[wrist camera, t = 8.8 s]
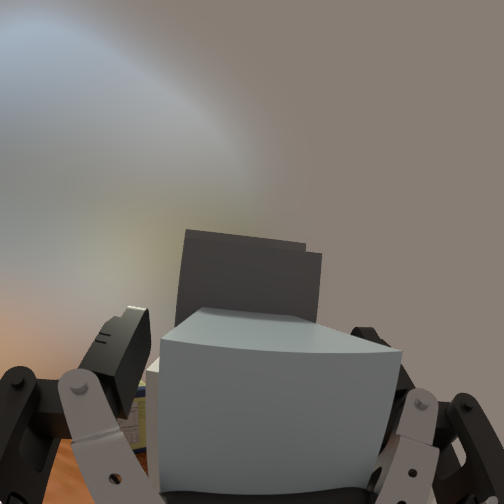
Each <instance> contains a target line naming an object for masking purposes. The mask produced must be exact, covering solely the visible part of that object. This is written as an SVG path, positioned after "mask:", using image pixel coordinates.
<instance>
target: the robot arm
mask: <svg viewBox="0 0 504 504" xmlns="http://www.w3.org/2000/svg"><path fill="white" fill-rule="evenodd" d="M351 335H352V336H355V337H358V338H362V339H365V340H368V341H371V342H374V343H377V344H381V345H384V346H387V347H391V346H390V345H388V344H387V343H386V342H385V341H384V340H383V339H380V338H379V336H378V334H377V333H376V331H375V330H374V328H372V327H355V328H354V329H353V330H352V332H351ZM150 350H151V333H150V320H149V311H148V309H146V308H139V307H134V306H128V307H127V309H126V310H125V312H124V314H123V315H122V317H115V316H114V317H113V318H111V319H110V320H109V321H107V322H106V323H105V324H104V325H103V327H102V329H101V330H100V332H99V334H98V335H97V337H96V338H95V341H94V342H93V343H92V345H91V347H90V348H89V350H88V352H87V353H86V355H85V357H84V358H83V360H82V362H81V364H80V365H79V367H78V368H77V369H73V370H70V371H68V372H66V373H65V374H64V375H63V376H62V377H61V378H60V379H59V380H47V379H37V378H36V377H35V374H34V373H33V371H32V370H31V369H29V368H27V367H24V366H17V367H13V368H11V369H9V370H8V371H6V372H5V374H4V375H3V377H2V378H1V380H0V504H42V502H43V498H44V494H45V490H46V486H47V483H48V479H49V476H50V472H51V469H52V465H53V462H54V459H55V456H56V453H57V450H58V447H59V444H60V441H61V439H72V440H73V442H71V446H72V450H73V453H74V456H75V459H76V461H77V464H78V466H79V469H80V471H81V474H82V476H83V478H84V481H85V483H86V485H87V487H88V489H89V492H90V494H91V496H92V498H93V500H94V502H95V504H427V500H428V497H429V494H430V490H431V486H432V489H433V492H434V495H435V498H436V502H437V504H504V449H503V447H502V445H501V443H500V441H499V439H498V437H497V435H496V433H495V431H494V430H493V428H492V426H491V424H490V422H489V420H488V419H487V417H486V415H485V413H484V412H483V410H482V408H481V407H480V405H479V403H478V402H477V400H476V399H475V398H474V397H473V396H471V395H469V394H467V393H459V394H457V395H456V396H455V398H454V399H453V400H452V401H451V403H450V402H439V401H437V399H436V398H435V397H434V395H433V394H432V393H430V392H429V391H427V390H424V389H420V388H415V386H414V384H413V383H412V381H411V379H410V378H409V376H408V374H407V372H406V371H405V369H404V367H403V366H402V364H400V370H399V376H398V381H397V386H396V390H395V395H394V400H393V404H392V408H391V412H390V416H389V420H388V424H387V427H386V431H385V434H384V438H383V441H382V444H381V448H380V451H379V454H378V457H377V460H376V463H375V466H374V469H373V471H372V474H371V477H370V479H369V482H368V485H367V487H366V489H364V488H360V487H343V488H336V489H329V490H322V491H314V492H305V493H293V494H276V495H236V494H218V493H207V492H196V491H168V492H162V493H160V492H159V493H158V492H157V490H156V489H155V487H154V486H153V484H152V483H151V481H150V479H149V478H148V476H147V475H146V473H145V471H144V470H143V468H142V466H141V465H140V463H139V461H138V460H137V458H136V456H135V454H134V452H133V451H132V449H131V447H130V445H129V443H128V441H127V439H126V438H125V436H124V434H123V432H122V430H121V429H120V427H119V425H118V423H117V418H121V419H125V420H127V419H128V416H129V413H130V410H131V407H132V404H133V401H134V398H135V395H136V392H137V389H138V386H139V383H140V380H141V377H142V374H143V371H144V369H145V366H146V363H147V360H148V357H149V355H150ZM457 437H459V440H460V442H461V444H462V446H463V448H464V451H465V453H466V462H465V464H464V465H463V466H462V467H461V465H460V463H459V460H458V458H457V456H456V453H455V451H454V449H453V446H452V444H451V443H452V442H453V441H454V440H455V439H456V438H457Z"/></svg>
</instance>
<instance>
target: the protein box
mask: <svg viewBox="0 0 504 504" xmlns="http://www.w3.org/2000/svg"><path fill="white" fill-rule="evenodd" d="M145 400H146V384H145V383H144V382H143V381H141V380H140V383H139V386H138V389H137V392H136V395H135V398H134V401H133V404H132V407H131V410H130V413H129V416H128V419H127V420H125V419H121V418H117V423H118V425H119V427H120V429H121V430H122V432H123V434H124V436H125V438H126V439H127V441H128V443H129V445H130V447H131V449H132V451H133V452H134V454H137V453H142V452H146V451H147V448H146V409H145Z"/></svg>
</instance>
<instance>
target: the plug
mask: <svg viewBox="0 0 504 504" xmlns="http://www.w3.org/2000/svg"><path fill="white" fill-rule="evenodd" d="M321 259H322V254H321V253H313V252H305V251H297V250H288V249H280V248H272V247H263V246H255V245H246V244H238V243H229V242H220V241H212V240H203V239H194V238H186V239H185V247H184V254H183V262H182V270H181V278H180V287H179V296H178V306H177V316H176V327H175V328H174V329H173V330H171V331H170V332H169V333H168V334H167V335H165V336H164V337H162V338H161V341H160V358H159V379H158V461H159V480H160V493H162V492H168V491H196V492H207V493H218V494H236V495H276V494H293V493H305V492H314V491H322V490H329V489H336V488H343V487H360V488H364V489H366V487H367V485H368V482H369V479H370V477H371V474H372V471H373V469H374V466H375V463H376V460H377V457H378V454H379V451H380V448H381V444H382V441H383V438H384V434H385V431H386V427H387V424H388V420H389V416H390V412H391V408H392V404H393V400H394V395H395V390H396V386H397V381H398V376H399V370H400V364H401V358H402V351H400V350H397V349H394V348H391V347H387V346H384V345H381V344H377V343H374V342H371V341H368V340H365V339H362V338H358V337H355V336H352V335H349V334H346V333H343V332H340V331H337V330H334V329H331V328H328V327H325V326H322V325H319V324H316V317H317V308H318V298H319V286H320V274H321V261H322V260H321Z"/></svg>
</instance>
